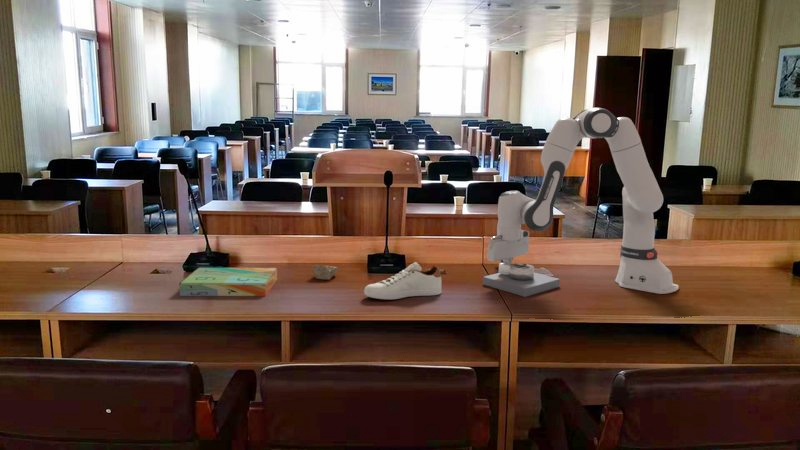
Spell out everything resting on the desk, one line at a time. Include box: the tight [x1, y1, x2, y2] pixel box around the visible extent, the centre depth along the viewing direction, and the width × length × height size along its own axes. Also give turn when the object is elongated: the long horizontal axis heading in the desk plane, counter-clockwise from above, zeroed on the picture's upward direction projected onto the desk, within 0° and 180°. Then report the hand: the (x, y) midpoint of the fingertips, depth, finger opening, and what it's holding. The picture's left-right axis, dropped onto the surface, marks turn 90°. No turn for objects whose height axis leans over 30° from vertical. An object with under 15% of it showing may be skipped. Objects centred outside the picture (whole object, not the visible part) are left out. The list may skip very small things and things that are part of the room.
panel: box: [482, 272, 561, 298], centre depth 235 cm, size 20×20×4 cm
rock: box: [312, 264, 339, 281], centre depth 244 cm, size 10×8×8 cm
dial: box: [498, 262, 535, 280], centre depth 235 cm, size 14×9×4 cm, turn 52°
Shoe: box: [363, 261, 443, 300], centre depth 221 cm, size 10×29×12 cm, turn 112°
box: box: [178, 267, 278, 297], centre depth 231 cm, size 22×5×30 cm
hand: (507, 269), depth 240 cm, fingers closed
